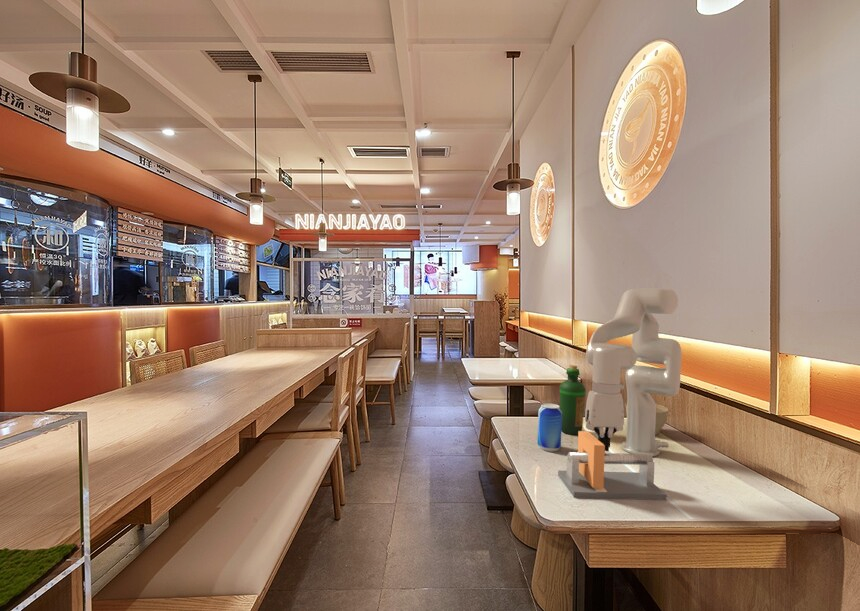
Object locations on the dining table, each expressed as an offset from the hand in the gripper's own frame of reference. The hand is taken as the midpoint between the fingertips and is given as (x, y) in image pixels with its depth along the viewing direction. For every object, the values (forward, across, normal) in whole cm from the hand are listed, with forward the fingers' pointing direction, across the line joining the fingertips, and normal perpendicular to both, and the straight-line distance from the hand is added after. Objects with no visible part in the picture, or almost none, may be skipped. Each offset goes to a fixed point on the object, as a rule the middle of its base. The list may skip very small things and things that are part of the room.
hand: (603, 449), depth 118 cm
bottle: (+11, -8, -49) cm, 51 cm away
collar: (+9, +4, 0) cm, 9 cm away
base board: (+11, -2, 0) cm, 11 cm away
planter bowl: (+11, -41, -52) cm, 67 cm away
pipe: (+10, -2, 0) cm, 10 cm away
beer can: (+11, +7, -30) cm, 33 cm away
